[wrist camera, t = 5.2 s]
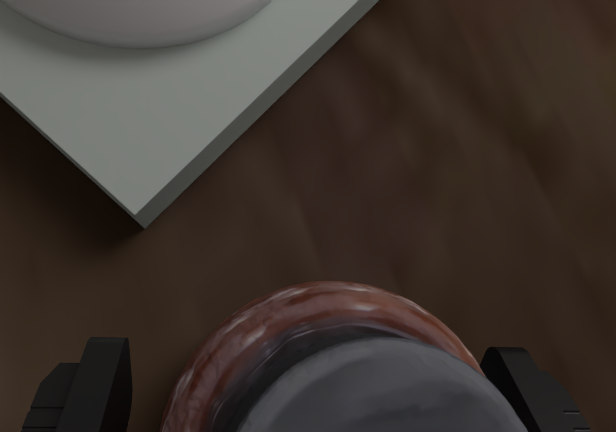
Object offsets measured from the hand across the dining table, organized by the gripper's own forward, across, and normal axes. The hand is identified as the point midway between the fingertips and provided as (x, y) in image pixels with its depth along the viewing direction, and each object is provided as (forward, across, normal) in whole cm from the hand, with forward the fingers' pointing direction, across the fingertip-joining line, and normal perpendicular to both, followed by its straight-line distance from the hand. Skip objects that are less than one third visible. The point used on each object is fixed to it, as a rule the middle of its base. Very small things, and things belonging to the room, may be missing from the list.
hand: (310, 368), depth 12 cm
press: (+18, +8, -10) cm, 22 cm away
